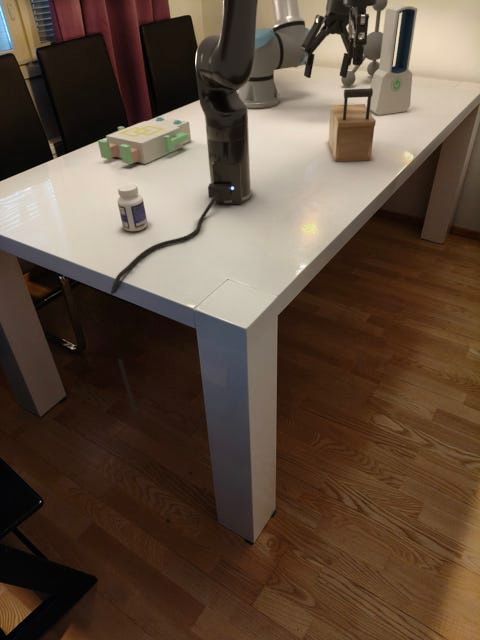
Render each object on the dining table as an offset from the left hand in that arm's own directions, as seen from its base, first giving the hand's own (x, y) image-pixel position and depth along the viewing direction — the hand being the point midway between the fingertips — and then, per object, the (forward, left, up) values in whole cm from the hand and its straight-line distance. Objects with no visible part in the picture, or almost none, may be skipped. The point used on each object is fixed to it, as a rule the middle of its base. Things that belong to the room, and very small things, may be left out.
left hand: (354, 61), depth 118 cm
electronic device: (+45, -15, -23) cm, 52 cm away
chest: (+5, -1, -23) cm, 24 cm away
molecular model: (+84, -10, -23) cm, 87 cm away
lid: (+5, -1, -14) cm, 15 cm away
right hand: (+36, +7, -11) cm, 39 cm away
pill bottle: (-43, +46, -23) cm, 67 cm away
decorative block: (+5, +57, -23) cm, 62 cm away
